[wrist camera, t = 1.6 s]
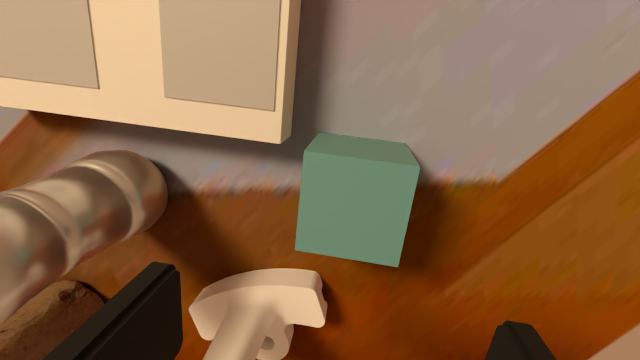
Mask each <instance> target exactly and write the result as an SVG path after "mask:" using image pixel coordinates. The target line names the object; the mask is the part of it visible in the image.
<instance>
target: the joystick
mask: <svg viewBox="0 0 640 360" xmlns="http://www.w3.org/2000/svg"><path fill="white" fill-rule="evenodd" d="M322 285H323V283H322V280H321V277H320V275H319V274H318V273H317V272H315V271H310V270H302V269H286V268H278V269H262V270H255V271H249V272H244V273H240V274H236V275H233V276H230V277H227V278H224V279H222V280H219V281H217V282H215V283H213V284H211V285H209V286H207V287H205V288H204V289H203V290H202V291H201V293H200V294H199V295H198V296H197V298H196V299H195V300H194V302H193V303H192V304H191V306H190V307H189V312H190V314H191V316H192V319H193V321H194V323H195V325H196V327H197V329H198V331H199V334H200V336H201V337H202V338H203V339H205V340H212V339H213V340H212V342H211V344H210V346H209V348H208V350H207V352H206V354H205V356H204V358H203V360H255V359H256V358H257V359H259V360H280V359H282V358H284V357H285V356H286V355H287V353H288V350H289V347H290V343H291V340H292V336H293V332H294V327H293V324H300V325H306V326H311V327H316V328H319V327H322V326H323V325H324V324H325V318H326V312H327V302H326V301H324V298H323V295H322V292H321V290H322Z"/></svg>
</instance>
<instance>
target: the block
mask: <svg viewBox="0 0 640 360" xmlns="http://www.w3.org/2000/svg"><path fill="white" fill-rule="evenodd" d="M103 305H104V302H103V300H102V299H101V298H100V297H99V296H98V295H97V294H96V293H94V292H92V291H91V290H89V289H88V288H86V287H84V286H83V285H82V284H81V283H78V282H76V281H68V280H65V281H59V282H54V283H52V284H51V285H50V286H48V287H47V288H46V289H44V290H43V291H41V292H40V293H39V294H37V295H36V296H35V297H33V298H32V299H31V300H29V301H28V302H27V303H26V304H24V305H23V306H22V307H21V308H20V309H19V310H17V311H16V312H15V313H14V314H13V315H12V316H10V317H9V318H8V319H7V320H6V321H5V322H3V323H2V324H1V325H0V360H42V359H43V358H44V357H46V356H47V355H48V354H49V353H50V352H51V351H52V350H54V349H55V348H56V347H57V346H58V345H59V344H60V343H61V342H63V341H64V340H65V339H66V338H67V337H68V336H69V335H70V334H72V333H73V332H74V331H75V330H76V329H77V328H78V327H79V326H81V325H82V324H83V323H84V322H85V321H86V320H87V319H89V318H90V317H91V316H92V315H93V314H94V313H95V312H96V311H98V310H99V309H100V308H101V307H102V306H103Z"/></svg>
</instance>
